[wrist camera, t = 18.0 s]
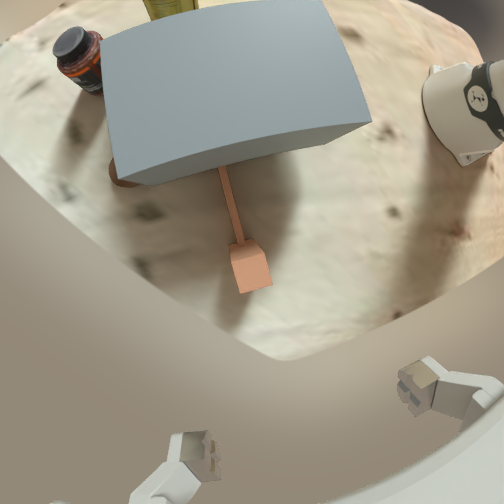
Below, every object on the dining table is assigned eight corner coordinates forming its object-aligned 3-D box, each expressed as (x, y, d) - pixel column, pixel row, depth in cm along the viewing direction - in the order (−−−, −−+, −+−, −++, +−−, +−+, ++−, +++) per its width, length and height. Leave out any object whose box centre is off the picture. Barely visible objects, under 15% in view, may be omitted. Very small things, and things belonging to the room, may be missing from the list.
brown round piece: (146, 149, 29) (142, 146, 27) (149, 184, 30) (144, 183, 28) (114, 155, 29) (108, 153, 27) (116, 190, 30) (110, 189, 28)
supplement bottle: (122, 53, 26) (93, 10, 15) (127, 86, 27) (93, 46, 16) (85, 70, 25) (46, 36, 14) (87, 103, 27) (44, 74, 16)
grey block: (283, 68, 29) (321, 0, 14) (309, 152, 31) (372, 121, 17) (144, 99, 28) (99, 41, 13) (164, 188, 30) (118, 179, 16)
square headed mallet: (232, 161, 30) (237, 145, 22) (259, 262, 33) (272, 284, 24) (207, 167, 30) (202, 154, 22) (235, 269, 33) (240, 293, 24)
